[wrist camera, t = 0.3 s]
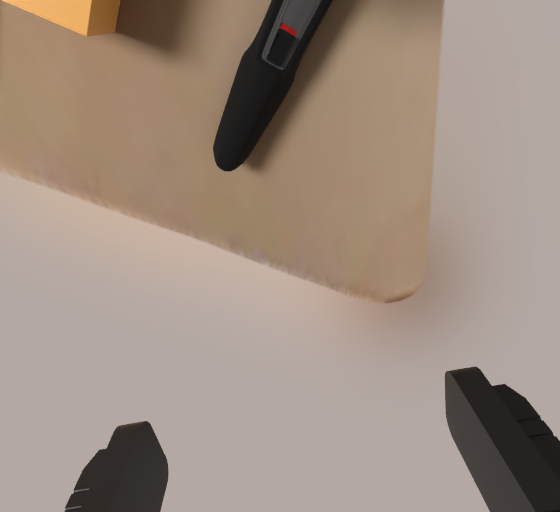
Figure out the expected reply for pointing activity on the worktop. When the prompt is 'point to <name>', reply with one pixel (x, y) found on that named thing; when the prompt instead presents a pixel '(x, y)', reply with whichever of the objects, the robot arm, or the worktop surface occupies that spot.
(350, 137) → the worktop surface
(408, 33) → the worktop surface
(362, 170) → the worktop surface
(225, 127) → the electric trimmer
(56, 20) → the orange rounded cube
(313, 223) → the worktop surface
